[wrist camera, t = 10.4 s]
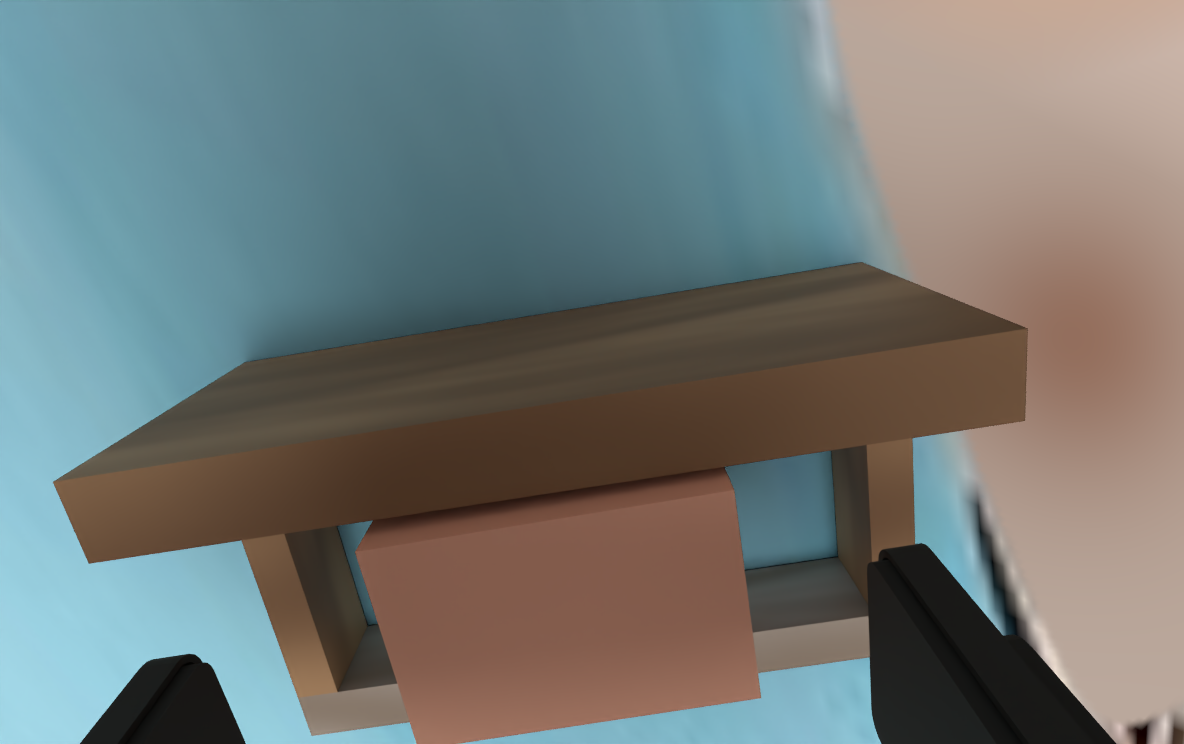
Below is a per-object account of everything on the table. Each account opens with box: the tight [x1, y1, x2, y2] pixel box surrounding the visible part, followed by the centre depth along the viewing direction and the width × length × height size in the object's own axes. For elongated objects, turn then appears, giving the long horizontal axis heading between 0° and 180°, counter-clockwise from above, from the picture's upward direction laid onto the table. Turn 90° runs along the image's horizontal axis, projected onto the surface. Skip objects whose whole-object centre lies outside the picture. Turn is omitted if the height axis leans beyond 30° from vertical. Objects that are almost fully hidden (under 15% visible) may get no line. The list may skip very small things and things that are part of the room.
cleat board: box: [53, 262, 1028, 736], centre depth 15 cm, size 9×15×6 cm, turn 99°
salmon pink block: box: [355, 467, 761, 744], centre depth 15 cm, size 5×6×7 cm
